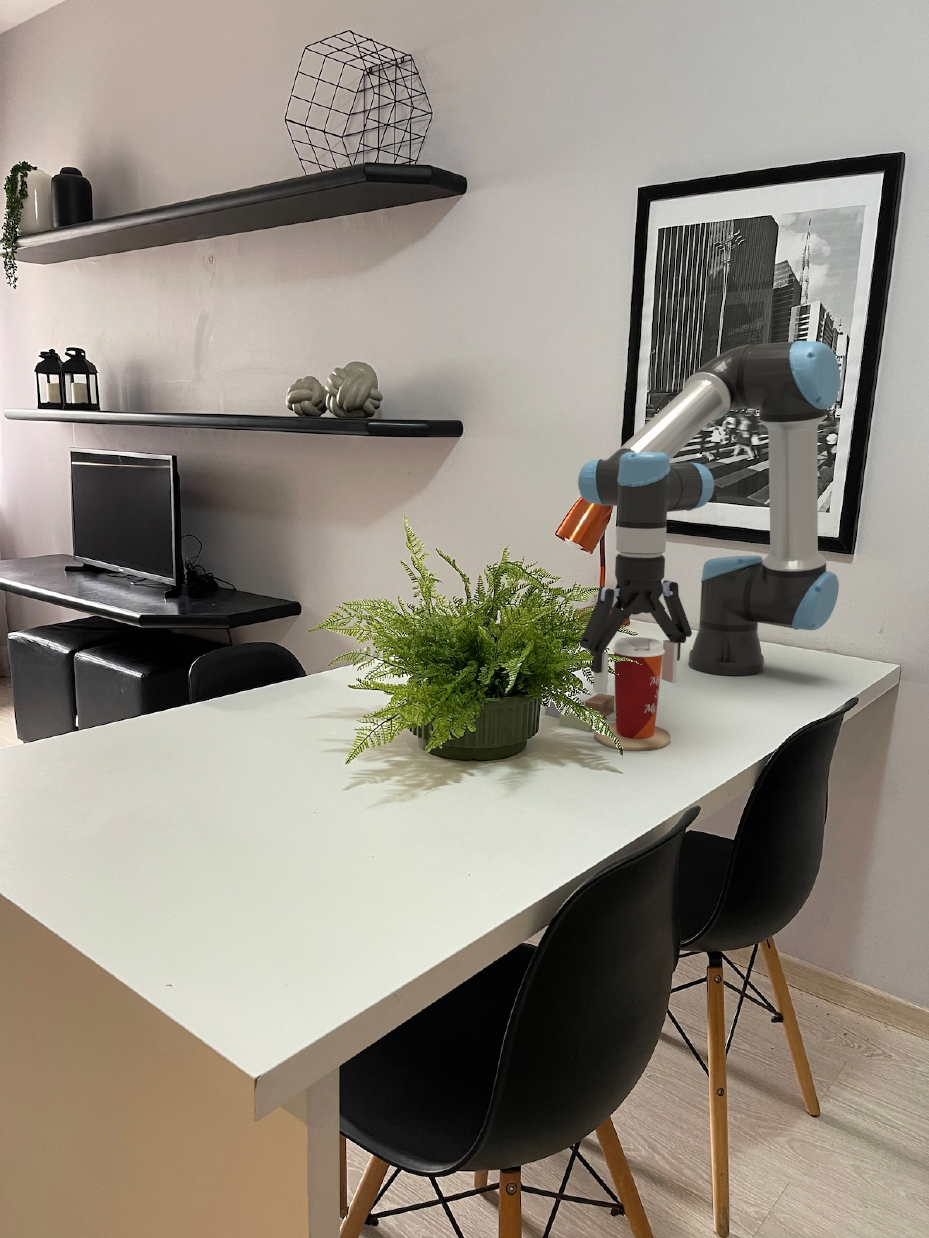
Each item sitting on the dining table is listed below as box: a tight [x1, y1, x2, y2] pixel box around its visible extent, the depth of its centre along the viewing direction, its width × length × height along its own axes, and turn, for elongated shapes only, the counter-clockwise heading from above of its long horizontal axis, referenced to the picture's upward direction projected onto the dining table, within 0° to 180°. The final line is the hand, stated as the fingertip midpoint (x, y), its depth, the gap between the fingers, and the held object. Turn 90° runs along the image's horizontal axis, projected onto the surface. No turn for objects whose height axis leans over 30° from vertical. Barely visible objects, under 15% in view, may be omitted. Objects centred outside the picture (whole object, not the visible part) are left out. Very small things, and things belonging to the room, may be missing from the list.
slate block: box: [544, 699, 585, 719], centre depth 163 cm, size 6×3×3 cm, turn 48°
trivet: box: [594, 721, 671, 752], centre depth 151 cm, size 12×12×1 cm
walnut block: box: [584, 692, 615, 718], centre depth 164 cm, size 6×3×3 cm, turn 149°
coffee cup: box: [611, 636, 665, 739], centre depth 150 cm, size 8×8×15 cm
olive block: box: [558, 710, 600, 733], centre depth 157 cm, size 6×3×3 cm, turn 49°
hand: (635, 686), depth 150 cm, fingers open, 13 cm apart
